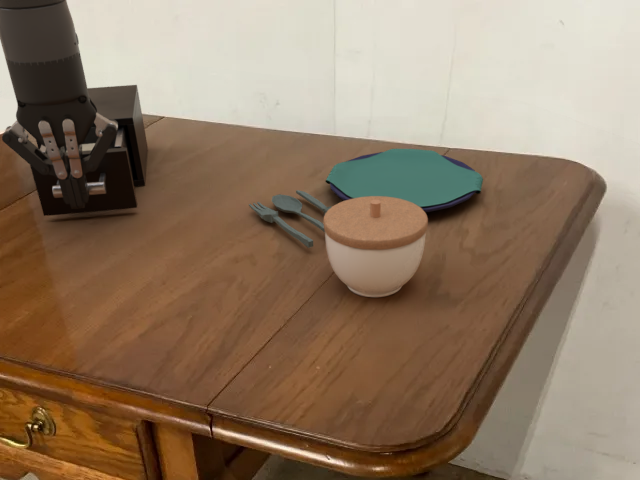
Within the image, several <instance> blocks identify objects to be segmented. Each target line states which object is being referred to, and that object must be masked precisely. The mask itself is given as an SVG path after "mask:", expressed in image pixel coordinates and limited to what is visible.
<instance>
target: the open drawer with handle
mask: <svg viewBox="0 0 640 480" xmlns="http://www.w3.org/2000/svg"><path fill="white" fill-rule="evenodd" d="M95 131H96V127H92V128H91V129H90V131H89V133H88V135H87V137H86V139H85V141H84V142H83V143H82V144H93V143H96V142H97V140H98V138H99V137H98V136H97V135H96V133H95ZM64 148H65V154H66V157H67V160H68V163H69V167H70V161H69V158H68V154H67V152H66V151H67V147H64ZM40 150H41V151H42V152H43V153H44V154H45V155H47V156H48V157H49V155H48V152H47V149H46V147H45V146H43V145H41V148H40ZM91 151H92V150H89V151H82V153H83V158H85V157H88V156H89V154H90V152H91ZM29 167H30V171H31V174H32V177H33V181H34V184H35V188H36V191H37V195H38V199H39V203H40V207H41V210H42V214H43V216H44V217H47V216H57V215H58V216H59V215H71V214H83V213H92V212H104V211H115V210H116V211H117V210H127V209H137V208H138V201H137V194H136V190H135V187H134V184H133V174H134V161H133V156H132V151H131V146H130V140H129V135H128V130H127V125H119V126H118V129H117V134H116V136H115V138H114V139H113V141H112V143H111V145H110V146H109V148H108V150H107V152H106V153H105V155H104V157H103V159H102V161H101V162H100V164H99V166H98V168H97V169H96V171H94V172H91V171H90V172H88V173H86V174H85V176H86V181H87V185H88V189H89V198H88V203H85V207H84V208H76V209H71V206H70V204H66V203H65V202H64V200H63V195H62V192H61V188H60V184H59V180H58V179H57V178H56V177H55V176H53V175H49V174H48V175H42V174H41V173H39V172H38V171H37V170H36V169H35V168H33V167H32V166H31V165H30V164H29ZM69 170H70V172H71V168H69Z"/></svg>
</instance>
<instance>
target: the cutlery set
mask: <svg viewBox="0 0 640 480" xmlns="http://www.w3.org/2000/svg"><path fill="white" fill-rule="evenodd" d="M324 181H325V183H326V184H327V185H329V187H330V189H331V191H332V192H333V193H334V194H335V195H336V196H337V197H338V198H339V199H341V200H343V201H346V200H349V199H353V198H359V197H368V196H384V197H393V198H399V199H403V200H406V201H409V202H412V203H414V204H416V205H417V206H419V207H420V208H422V209H423V211H424V212H425V213H430V212H434V211H439V210H440V211H441V210H445V209H449V208H452V207H454V206H456V205H458V204H461V203H463V202H466V201H468V200H469V199H470V198H471V197H473V195H475V194H476V195H478V194H481V193H482V188H483V187H482V186H483V181H484V178H483V176H482V174H481V173H479V172H478V171H475V169H474V168H472V167H471V166H469V165H467V164H466V163H465V162H463V161H461V160H458V159H455V158H452V157H449V156H447V155H444V154H443V155H442V154H439V153H438V152H436V151H435V150H432V149H431V150H430V149H419V148H390V149H387V150H384V151H380V152H374V153H368V154H364V155H363V154H362V155H359V156H357V157H355V158H352V159H348V160H346V161H342V162H338V163H336V164H335V165H333V166H332V168H331V170H330V172H329V173H328V175H327V177H326V179H325V180H324ZM295 194H296V195H298V196H299V197H301V198H303V199H304V200H306V201H307V202H309V203H310V204H312V205H313V206H314V207H316V208H318V209H319V210H320V211H322V212H323V217H324V216H325V214H326V212H327V211H328V210H329V209H330V208H331V207H332V206H326V205H325V204H324V203H323V202H321V201H320V200H319V199H317V198H316V197H314V196H313V195H311V194H310V193H308V192H306V191H303V190H300V189H297V190H295ZM271 203H272V204H273V205H274V206H275V208H276V209H278V210H274V209H272V208H270V207H268V206H266V205H264V204H262V203H261V202H260V201H257V202H256V203H255V202H253V203H252V204H251V203H248V207H249V208H250V209H251V210H253V211H254V212H255V213H256V214H257V215H258V216H259V217H260V219H262V221H264V222H268V223H271V224H273V223H276V224H277V225H278V226H279V227H280V229H282V230H283V231H284V232H285V233H287V234H289V236H291V237H293V238H294V239H296V240H297V241H299V242H300V243H302V245H304V246H305V247H306V248H308V249H310V248H313V247H314V240H313V239H312V238H310V237H309V236H307V234H304V233H302V232H300V231H299V230H297V229H295V228H293V227H292V226H290V225H289V224H288V223H287V222H286V221H284V219H283V218H281V217H279V211H281V212H283V213H284V214H285V213H286V214H294V215H295V214H296V215H297V216H299V217H301V218H303V219H304V220H306V221H307V222H308V223H310V224H312V225H314V226H315V227H317V228H318V229H319V230H320V231H322V232H323V233H325V230H324V222H321V221H320V220H318V219H316V218H314V217H312V216H310V215H309V214H306V213H304V212H302V207H303V203H302V202H301V201H300V200H299V199H298V198H296V197H294V196H291V195H287V194H281V193H279V194H275V195H272V196H271Z"/></svg>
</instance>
